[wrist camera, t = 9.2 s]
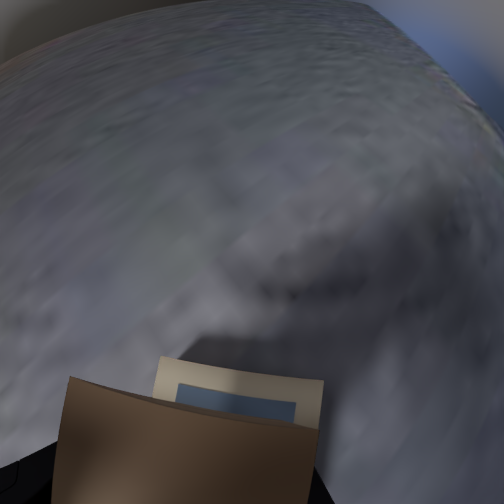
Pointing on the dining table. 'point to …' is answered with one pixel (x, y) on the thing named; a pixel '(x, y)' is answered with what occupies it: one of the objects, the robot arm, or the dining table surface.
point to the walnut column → (175, 453)
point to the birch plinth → (240, 391)
